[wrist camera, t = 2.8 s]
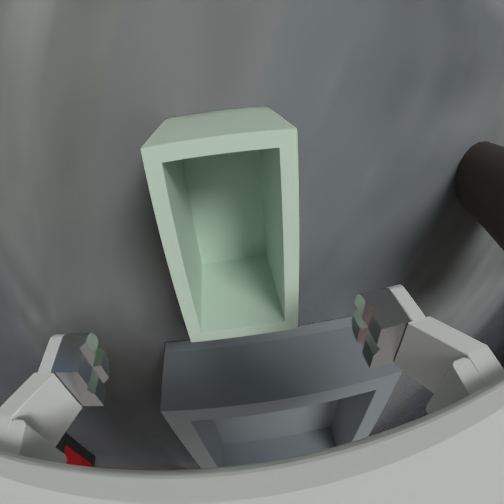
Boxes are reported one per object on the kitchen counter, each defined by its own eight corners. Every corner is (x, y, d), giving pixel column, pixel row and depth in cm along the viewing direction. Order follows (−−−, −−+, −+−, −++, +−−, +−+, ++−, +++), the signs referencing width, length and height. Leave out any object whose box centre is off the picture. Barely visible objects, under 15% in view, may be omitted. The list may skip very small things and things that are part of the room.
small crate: (266, 106, 15) (297, 128, 10) (275, 256, 19) (297, 328, 14) (165, 118, 14) (140, 148, 9) (194, 267, 19) (191, 342, 14)
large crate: (371, 312, 23) (402, 371, 18) (339, 422, 35) (351, 462, 30) (165, 342, 23) (160, 411, 18) (211, 442, 34) (215, 485, 29)
